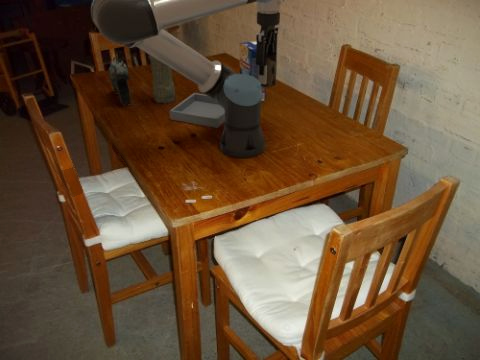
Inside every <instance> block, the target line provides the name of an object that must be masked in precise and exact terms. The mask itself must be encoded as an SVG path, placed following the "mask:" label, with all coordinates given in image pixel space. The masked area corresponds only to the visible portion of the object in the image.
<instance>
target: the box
mask: <svg viewBox="0 0 480 360" xmlns="http://www.w3.org/2000/svg"><path fill="white" fill-rule="evenodd" d="M169 118H170V121H171V120H172V121H178V122H181V123H182V122H183V123H189V124H193V125H197V126H198V125H199V126H204V127H208V128H209V127H210V128H216V129H219V128H220V126H222V125H223V124H224V123H225V111H224V108H223V107H222V106H221V105H220V104H219V103H218V102H216V101H215V100H214V99H212V98H210V97H209V96H207V95H205V94H204V93H199V92H198V93H197V92H193V93H192V94H191V95H189V96H188V97H187V98H185V99H184V100H182V101H181V102H179V103H178V104H177V105H175V106H174V107H173V108H171V109H170V110H169Z"/></svg>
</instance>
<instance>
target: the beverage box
mask: <svg viewBox="0 0 480 360" xmlns="http://www.w3.org/2000/svg"><path fill="white" fill-rule="evenodd" d="M256 49H257V41H256V40H253V41H246V42H239V74H246V75H248V76H253V77H255V78H256V79H257V80H258V77H259V65H256ZM266 90H267V87H262V86H261V91H262V97H261V102H263V101H264V102H265V101H266V94H267V93H266V92H267V91H266Z"/></svg>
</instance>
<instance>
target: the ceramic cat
mask: <svg viewBox="0 0 480 360" xmlns="http://www.w3.org/2000/svg"><path fill="white" fill-rule="evenodd" d="M115 56H116V57H113V59H112V61H110V62H109V63H110V65H109V66H110V67H108V73H109V79H110V81H111V82H110V83H111V86H112V89H113V90H114V91H115V92H114V94H115V93H118V96H119V101H120V105H121V106H122V105H128V104H131V105H132V101H131V100H132V99H131V93H130V87H129V83H128V80H129V79H130V75H129V70H128V67H127V64H126V63H125V62H124V60H121V61H119V57H118V52H115Z"/></svg>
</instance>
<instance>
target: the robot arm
mask: <svg viewBox="0 0 480 360" xmlns="http://www.w3.org/2000/svg"><path fill="white" fill-rule="evenodd" d="M253 3H256V10H257V12H256V24H258V25H259V26H260V31H259V34H256V38H255V39H256V40H255V41H256V42H257V49H256V65H259V77H258V80H257V79H256V78H255V77H253V76H248V75H246V74H240V73H237V72H236V71H235V70H234V69H233V68H230V67H229V66H226V65H225V64H224V63H222V62H221V61H219V60H213V61H211V60H209V59H208V58H207V57H205V55H202V54H201V53H199V52H198V51H196V50H194V49H193V48H192V47H190V46H189V45H187V44H186V43H184V42H183V41H181V40H180V39H178V38H177V37H176V36H174V35H172V34H171V33H170V32H169V31H168V32H167V31H165V30H164V29H166V28H168V29H169V28H172V27H176V26H179V25H182V24H186V23H189V22H191V21H195V20H199V19H203V18H206V17H208V16H212V15H215V14H218V13H223V12H227V11H229V10H233V9H235V8H238V7H242V6H247V5H249V4H253ZM282 3H283V1H282V0H92V2H91V6H90V15H91V20H92V22H93V24H94V25H95V27H96V28H97V29H98V31H99V32H100V34H101V35H102V36H103V38H105V39H106V40H107V41H109V42H111V43H113V44H118V45H123V46H125V47H126V48H128V49H131V48H135V47H136V48H137V49H139V50H141V51H143V52H144V53H146V54H148V56H149V55H151V56H152V57H154V58H156V59H157V60H159V61H161V62H162V63H164V64H165V65H167V66H169V67H170V68H172V70H174V71H175V72H177V73H179V74H180V75H182V76H183V77H185V78H186V79H188V80H190V81H191V82H193V83H195V84H196V85H197V88H198V91H199V92H200V93H201V94H204V95H207V96H209V97H210V98H212V99H214V100H215V101H216V102H218V103H219V104H220V105H221V106H222V107H223V108H224V111H225V122H224V128H223V131H222V133H221V134H222V135H221V136H220V140H219V149H220V151H221V152H222V153H223V154H225V155H226V156H230V157H231V158H232V157H233V158H237V157H239V158H238V159H242V158H243V159H244V158H245V157H248V158H252V157H256V156H259V155H260V154H262V153H264V151H265V149H266V140H265V137H264V134H263V131H262V127H261V119H262V117H261V114H262V113H261V112H262V101H261V97H262V91H261V84H265V85H266V79H267V65H266V60H267V53H268V51H270V52H275V53H277V54H278V35H279V27H278V26H279V25H280V20H281V19H280V18H281V13H280V11H281V5H283V4H282ZM276 26H277V27H276ZM258 154H259V155H258ZM245 159H246V158H245Z"/></svg>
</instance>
